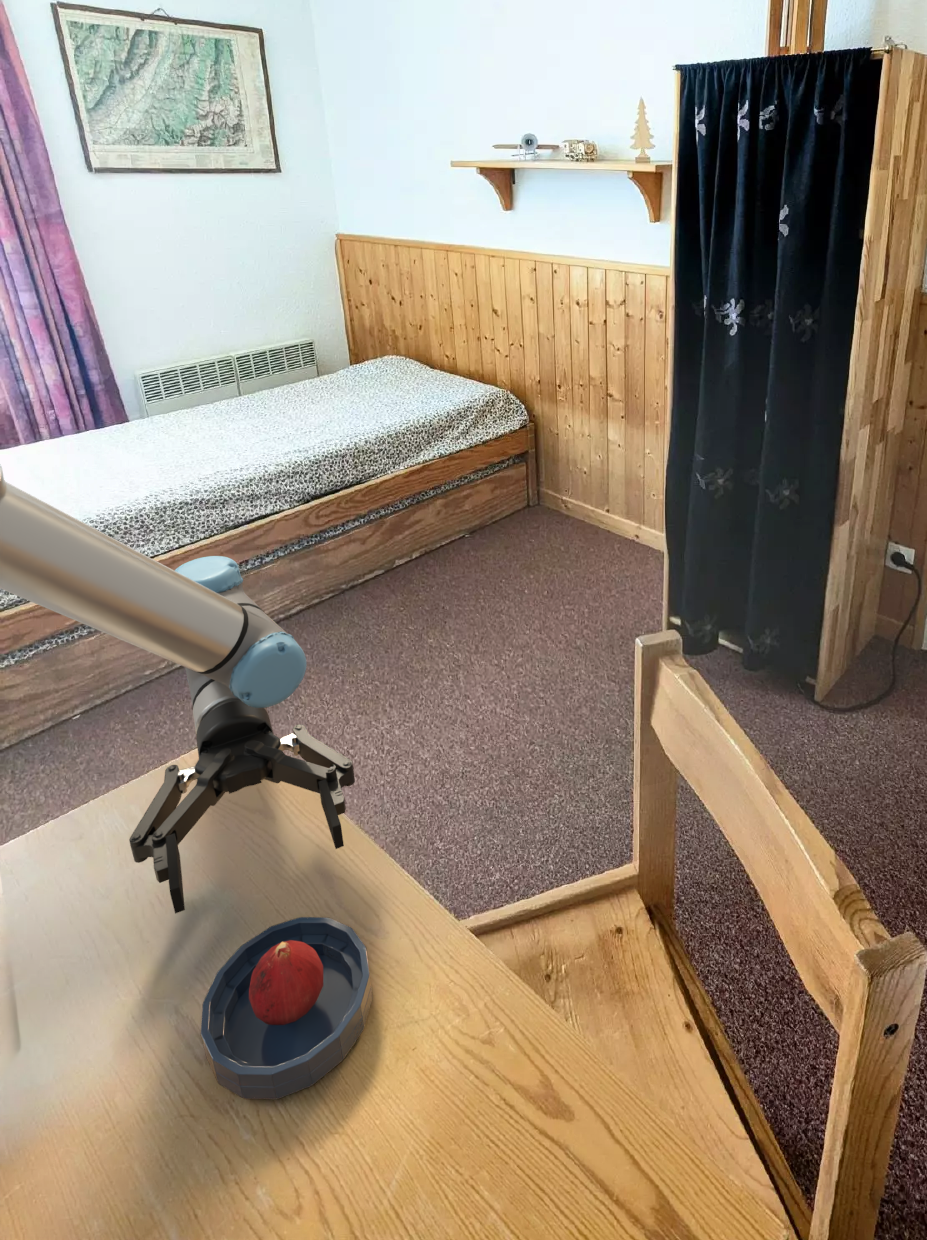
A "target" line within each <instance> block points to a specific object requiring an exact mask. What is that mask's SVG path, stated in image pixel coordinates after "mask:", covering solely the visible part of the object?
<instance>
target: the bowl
mask: <svg viewBox="0 0 927 1240" xmlns="http://www.w3.org/2000/svg"><path fill="white" fill-rule="evenodd" d="M289 940H293V941H300V942H304V943H306V944H307V945H309V946H311V947H312V948H313V949H314V950H315V951H316V952H317V954H318V956H319V958H320V960H321V962H322V964H323V987H322V990H321V992H320V994H319V997H318V999H317V1001H316V1002H315V1004H314V1005H313V1007H312V1008H311V1009H310V1010H309V1011H308V1012H307V1014H306V1015H304V1016H303V1017H301V1018H300V1019H298V1020H296V1021H295V1022H292V1023H289V1024H285V1025H269V1024H266V1023H265V1022H263V1021H262V1020H260V1019H259V1018H257V1017H256V1015H255V1013H254V1011H253V1008H252V1006H251V1003H250V1000H249V988H250V982H251V976H252V973H253V970H254V969H255V967H256V965H257V964H258V962H259V960H260V959H261V957H262V956H263V955H264V954H265V953H266V952H267V951H268V950H269V949H270V948H271V947H273V946H275V945H277V944H279V943H281V942H282V941H283V942H285V941H289ZM368 958H369V957H368V950H367V946H366V945H365V944H364V942H363V941H362V940H361V938H360V936H358V934H357V933H356V931H355V930H354V929H353V928H352V927H351V926H349V925H347V924H344V923H342V922H340V921H338V920H335V919H333V918H331V917H327V916H325V917H323V916H315V917H314V916H299V917H296V918H293V919H290V920H287V921H284V922H280V923H277V924H274V925H271V926H269V927H267V928H266V929H265V930H263V931H262V932H259V933H258V934H257V935H255V936H254V937H251V939H249V940H248V941H246V942H245V943H243V944H241V946H239V948H238V949H237V950H236V951H235V952H234V953H233V954H232V955H231V956H230V958H228V959H227V961H226V962H225V963H224V964H223V965H222V967H220V968H219V970H218V971H217V972H216V974H215V977H214V978H213V981H212V982H211V985H210V986H209V989H208V991H207V993H206V995H205V998H204V1000H203V1002H202V1009H201V1021H200V1022H201V1023H200V1037H201V1042H202V1045H203V1049H204V1053H205V1058H206V1060H207V1062H208V1065H209V1067H210V1068H211V1071H212V1074H213V1075H214V1077H215V1079H216V1082H217V1084H218V1085H220V1086H221V1087H223V1088H225V1089H227V1090H228V1091H230V1092H232V1093H233V1094H235V1095H237V1096H238V1097H240V1098H242V1099H244V1100H279V1099H281V1098H284V1097H287V1096H289V1095H292V1094H294V1093H297V1092H299V1091H302V1090H305V1089H307V1088H310V1087H312V1086H314V1085H315V1084H316V1083H317V1082H319V1081H320V1080H321V1079H322V1078H323V1077H325V1076H326V1075H327V1074H328V1073H330V1071H332V1070H333V1069H335V1067H337V1066H338V1065H339V1064H341V1063H342V1062H343V1061H344V1060H345V1058H346V1057H347V1055H348V1054H349V1052H350V1051H351V1049H352V1048H353V1046H354V1045H355V1043H356V1042H357V1040H358V1039H359V1037H360V1036H361V1034H362V1033H363V1031H364V1030H365V1028H366V1023H367V1020H368V1016H369V1012H370V1009H371V1006H372V1002H373V998H374V997H373V988H372V980H371V972H370V965H369V959H368Z"/></svg>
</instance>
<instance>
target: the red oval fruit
mask: <svg viewBox="0 0 927 1240" xmlns="http://www.w3.org/2000/svg"><path fill="white" fill-rule="evenodd" d="M322 987H323V964H322V962H321V960H320V958H319V956H318V954H317V952H316V951H315V950H314V949H313V948H312V947H311V946H309V945H307V944H306V943H304V942H300V941H293V940H289V941H285V942H283V941H282V942H281V943H279V944H277V945H275V946H273V947H271V948H270V949H269V950H268V951H267V952H266V953H265V954H264V955H263V956H262V957H261V959H260V960H259V962H258V964H257V965H256V967H255V969H254V970H253V973H252V976H251V982H250V988H249V1000H250V1003H251V1006H252V1008H253V1011H254V1013H255V1015H256V1017H257V1018H259V1019H260V1020H262V1021H263V1022H265V1023H266V1024H269V1025H285V1024H289V1023H292V1022H295V1021H296V1020H298V1019H300V1018H301V1017H303V1016H304V1015H306V1014H307V1012H308V1011H309V1010H310V1009H311V1008H312V1007H313V1005H314V1004H315V1002H316V1001H317V999H318V997H319V994H320V992H321V990H322Z"/></svg>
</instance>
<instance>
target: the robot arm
mask: <svg viewBox="0 0 927 1240" xmlns="http://www.w3.org/2000/svg"><path fill="white" fill-rule="evenodd" d="M243 583H244V578H243V577H242V575H241V571H240V568H239V565H238V563H237V562H236V560H234V559H233V558H230V557H227V556H222V555H208V556H202V557H198V558H195V559H192V560H189V561H187V562H185V563H182V564H181V565H179V566H178V567H177V568H175V569H172V568H170V567H169V566H167V565H164V564H163V563H161V562H159V561H157V560H156V559H153V558H151V557H149V556H147V555H145V553H142V552H140V551H138V550H136V549H135V548H132V547H131V546H128V545H127V544H125V543H123V542H121V541H119V540H117V539H115V538H114V537H112V536H109V535H108V534H106V533H104V532H102V531H100V530H99V529H96V528H94V527H92V526H91V525H89V524H88V523H85V522H82V521H81V520H79V519H77V518H75V517H74V516H71V515H70V514H68V513H65V512H64V511H63V510H60V509H58V508H57V507H54V506H53V505H50V504H48V503H47V502H45V501H43V500H42V499H39V498H38V497H36V496H33V495H32V494H30V493H28V492H26V491H24V490H22V489H20V488H19V487H17V486H15V485H13V484H11V483H9V482H8V481H6V480H5V477H4V473H3V467H2V465H1V464H0V590H3V591H5V592H7V593H10V594H12V595H14V596H17V597H18V598H21V599H23V600H26V601H28V602H31V603H34V604H35V605H38V606H40V607H43V608H45V609H47V610H50V611H52V612H54V613H57V614H59V615H62V616H64V617H66V618H69V619H71V620H73V621H75V622H78V623H80V624H83V625H85V626H87V627H90V628H93V629H94V630H97V631H99V632H101V633H104V634H106V635H109V636H111V637H113V638H115V639H118V640H121V641H122V642H124V643H125V642H126V643H127V644H130V645H133V646H135V647H137V648H139V649H141V650H144V651H147V652H149V653H151V654H153V655H156V656H158V657H160V658H163V659H165V660H167V661H170V662H173V663H174V664H177V665H179V666H182V667H183V668H185V673H186V680H187V685H188V690H189V694H190V700H191V704H192V705H191V706H192V718H193V726H194V731H195V732H194V734H195V739H196V748H197V754H198V759H197V761H196V763H195V765H194V766H190V767H187V768H182V769H180V768H179V765H178V764H171V765H169V766H167V767H166V768H165V771H164V779H163V783H162V784H161V786H160V788H159V789H158V791H157V792H156V794H155V796H154V798H153V799H152V801H151V802H150V804H149V806H148V807H147V809H146V811H145V812H144V814H143V816H142V817H141V819H140V821H139V822H138V823H137V826H136V827H135V829H134V830H133V832H132V834H131V835H130V837H129V839H128V842H129V846H130V849H131V850H130V851H131V852H132V857H133V860H134V862H135V863H139V864H140V863H142V862H145V861H146V860H147V859H148V858H153V859H152V860H153V861H152V862H153V870H154V874H155V875H154V876H155V878H156V881H157V882H158V883H159V884H161V883H164V882H167V881H168V888H169V895H170V898H171V902H172V906H173V911H174V914H178V913H181V912H184V911H185V910H186V909H185V907H186V906H185V896H184V895H185V894H184V885H183V874H182V863H181V854H180V850H179V845H180V843H181V842H182V841H183V840H184V839H185V837H186V836H187V835H188V834H189V832H190V831H191V830H192V829H193V828H194V826H195V825H196V824H197V823H198V821H200V819H201V818H202V817H203V815H204V814H205V813H206V812H207V811H208V810H209V809H210V807H214V806H216V805H217V803H218V802H219V801H220V799H222V798H223V796H224V795H225V794H226V793H228V794H234V793H236V792H238V791H240V790H242V789H244V788H247V787H253V786H256V785H259V784H262V781H263V780H265V781H268V782H271V783H274V784H279V783H281V782H282V783H284V784H285V783H286V784H288V785H291V786H295V787H297V788H301V789H303V790H307V791H310V792H314V793H317V794H319V797H320V803H321V806H322V809H323V813H324V817H325V821H326V823H327V826H328V829H329V833H330V835H331V838H332V841H333V845H334V848H335V850H337V849H341V848H343V847H344V845H345V844H344V837H343V830H342V823H341V820H340V817H339V816H340V815H343V814H346V811H347V809H346V808H347V807H346V806H347V805H346V800H345V795H344V793H343V787H351V786H353V785H354V784H355V782H356V780H355V772H354V771H355V769H354V764H353V760H352V759H350V758H349V757H347V756H345V755H343V754H342V753H341V752H339V751H337V750H335V749H333V748H332V747H330V746H328V745H327V744H326V743H324V742H322V741H321V740H319V739H318V738H315V737H314V736H312V735H311V734H309V732H308V730H307V728H306V727H305V725H304V724H296V725H295V726H294V727H293V728H292V732H293V733H291V734H289V735H286V736H283V737H281V738H280V737H279V736H277V735H275V734H274V730H273V726H272V723H271V719H270V715H269V711H268V708H270V707H273V706H276V705H279V704H281V703H282V702H284V701H285V700H287V699H288V698H289V697H290V696H292V695H293V694H294V693H295V691H296V690H297V689H298V688H299V686H300V684H301V683H302V682H303V680H304V678H305V675H306V671H307V665H308V663H307V656H306V654H305V652H304V650H303V649H302V647H301V645H300V644H299V643H298V642H297V640H296V639H295V637H294V636H293V635H292V634H290V633H288V632H286V631H285V630H284V629H283V628H282V627H281V626H280V625H279V624H278V623H277V622H275V621H274V620H273V619H272V618H271V617H270V616H269V615H267V613H266V612H265V611H264V610H263V609H262V608H261V606H259V605H258V604H257V603H256V602H255V601H254V600H253V599H251V597H250V596H249V595H247V594H246V593H245V590H244V587H243V586H244V585H243ZM284 751H290V752H291V753H293V756H290V755H287V754H286V753H285V752H284ZM294 756H300V758H296V757H294ZM194 781H196V783H195V786H193V788H192V789H191V790H190V792H188V788H189V787H190V784H191V783H192V782H194ZM187 792H188V794H186V793H187ZM182 794H186V796H185V797H184V798H183V799H182ZM181 799H182V800H181Z"/></svg>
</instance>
